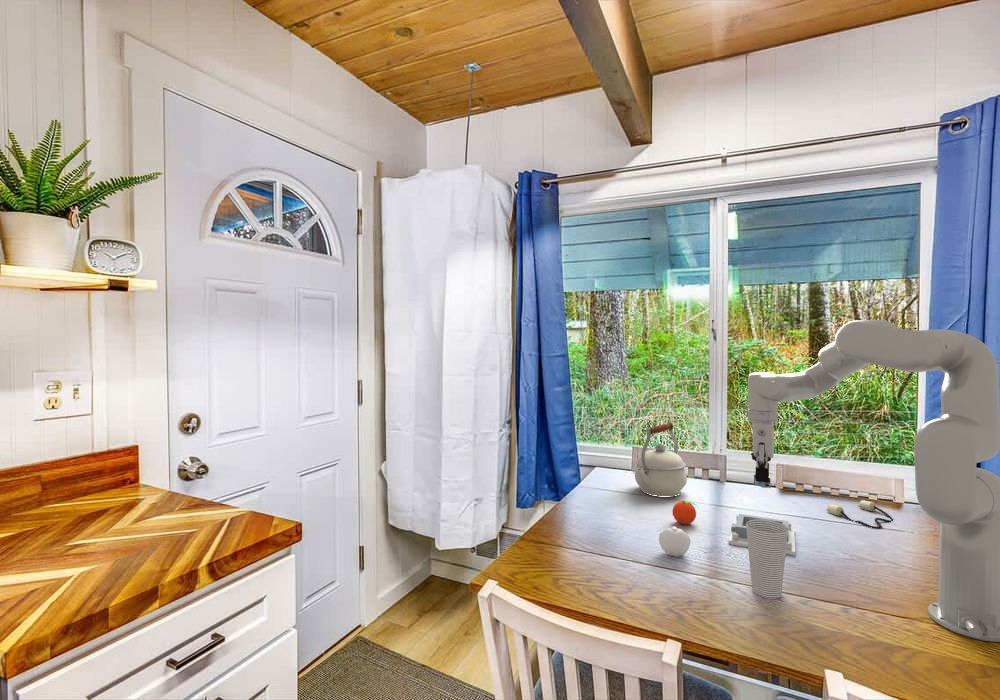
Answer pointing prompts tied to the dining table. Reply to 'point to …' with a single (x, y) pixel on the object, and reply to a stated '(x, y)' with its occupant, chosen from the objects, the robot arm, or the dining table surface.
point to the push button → (761, 484)
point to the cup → (766, 556)
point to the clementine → (684, 512)
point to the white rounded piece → (674, 541)
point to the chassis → (740, 532)
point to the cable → (863, 505)
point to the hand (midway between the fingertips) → (762, 478)
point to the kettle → (660, 467)
